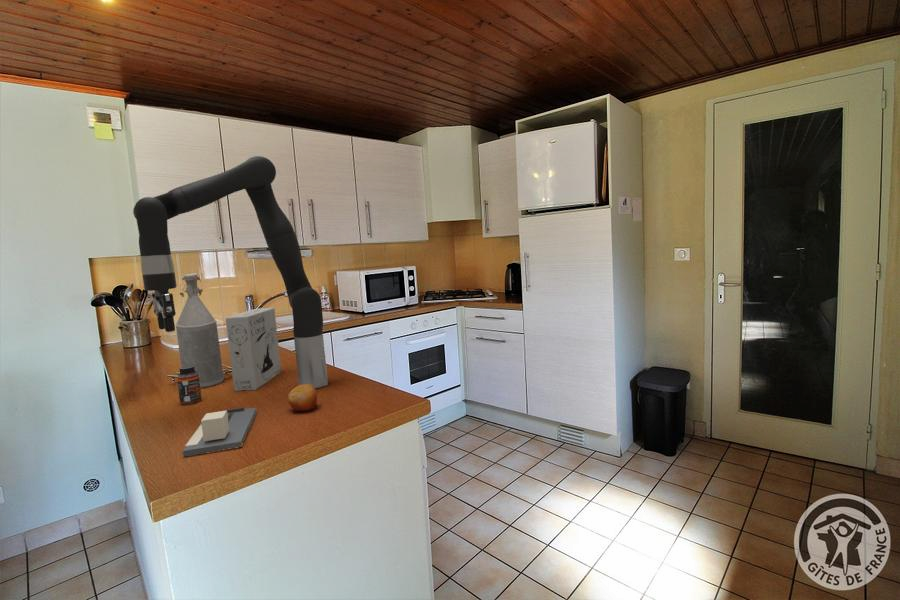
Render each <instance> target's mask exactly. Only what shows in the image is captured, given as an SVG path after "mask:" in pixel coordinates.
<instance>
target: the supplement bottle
mask: <svg viewBox="0 0 900 600" xmlns="http://www.w3.org/2000/svg"><path fill="white" fill-rule="evenodd" d="M176 381H177V390H178V400H179V403H180V405H192V403H193V404H196V403H198V401H199V402H200V401H201V400H202V391H201V388H200V381H199V374H198V373H197V372H196V371H195V369H194V366H184V367H181V366H180V367H179V374H178V375H177V377H176Z"/></svg>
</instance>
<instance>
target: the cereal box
mask: <svg viewBox="0 0 900 600" xmlns="http://www.w3.org/2000/svg"><path fill="white" fill-rule="evenodd" d="M275 310H276V309H275V307H261V308H254V309H250V310H249V309H248V310H247V311H243V312H239V313H237V314H233V315H230V316H227V317H225V324H226V333H227V341H228V342H227V343H228V350H229V358H230V366H231V375H232V383H233V391H235V392H243V391H242V390H246V391H257V390H258V389H260V388H261V387H262V386H264V385H265V384H267V383H268V382H269V381H271V380H272V379H273V378H275V377H276V376H278V375H279V374H281V372H282V367H281V366H282V365H281V358H280V348H279V347H280V346H279V338H278V330H277V321H276V311H275Z"/></svg>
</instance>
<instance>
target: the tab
mask: <svg viewBox="0 0 900 600" xmlns="http://www.w3.org/2000/svg"><path fill="white" fill-rule="evenodd" d="M201 424H202V432H203V440H204V441H210V440H216V439H222V438H225V437H226V435H227V433H228V432H229V423H228V415H227V411H221V410H220V411H214V412H207V413H205V414H204V416H203V417H202V418H201V420H200V425H201Z"/></svg>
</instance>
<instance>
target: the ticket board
mask: <svg viewBox="0 0 900 600" xmlns="http://www.w3.org/2000/svg"><path fill="white" fill-rule="evenodd" d="M220 411H227V415H228V423H229V432H228V433H227V435H226V437H225V438H222V439H216V440H210V441H204V440H203V432H202V424H201V423H200V425H199V426H198V428H196V431H195V432H194V433H193V434H192V436H191V437H190V439H189V440H188V441H187V442H186V444H185V445H184V446H185V447H184V448H183V450H182V457H183V458H186V457H185V456H188V457H192V456H191V455H194V456H197V455H196V454H201V455H203V454H202V453H207V452H213V451H218V450H223V449H228V448H235V447H240V446H241V445H242V443H243V441H244V439H245V440H246V438H247V436H246V434H247V432H248V433H249V431H250V429H251V427H252V425H251V424H253V422H254V420H255V418H254V417H256V416H255V415H257V412H258V411H257V407H252V408H251V407H250V408H245V407H243V406H242V407H236V408H235V407H234V408H230V409H222V410H220ZM253 419H254V420H253ZM252 421H253V422H252ZM250 426H251V427H250ZM249 428H250V429H249ZM248 430H249V431H248ZM247 435H248V434H247ZM245 437H246V438H245ZM244 442H245V441H244ZM243 444H244V443H243ZM242 446H243V445H242ZM213 453H214V452H213ZM207 454H208V453H207Z"/></svg>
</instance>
